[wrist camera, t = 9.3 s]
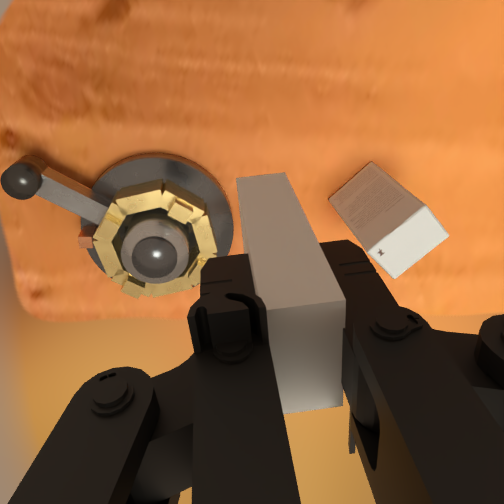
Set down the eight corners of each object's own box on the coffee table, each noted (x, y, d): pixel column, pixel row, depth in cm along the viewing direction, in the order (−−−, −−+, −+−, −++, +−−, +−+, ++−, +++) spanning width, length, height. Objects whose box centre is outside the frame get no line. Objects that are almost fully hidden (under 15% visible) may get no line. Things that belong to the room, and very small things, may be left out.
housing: (78, 147, 41) (56, 173, 34) (237, 157, 43) (245, 183, 36) (91, 282, 48) (74, 325, 41) (227, 284, 50) (232, 326, 43)
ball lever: (-4, 209, 40) (-24, 229, 37) (41, 108, 37) (23, 119, 33) (180, 294, 47) (178, 317, 44) (233, 215, 44) (236, 234, 40)
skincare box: (350, 223, 48) (393, 282, 38) (326, 198, 46) (364, 252, 36) (394, 186, 47) (452, 236, 36) (372, 158, 45) (425, 203, 34)
